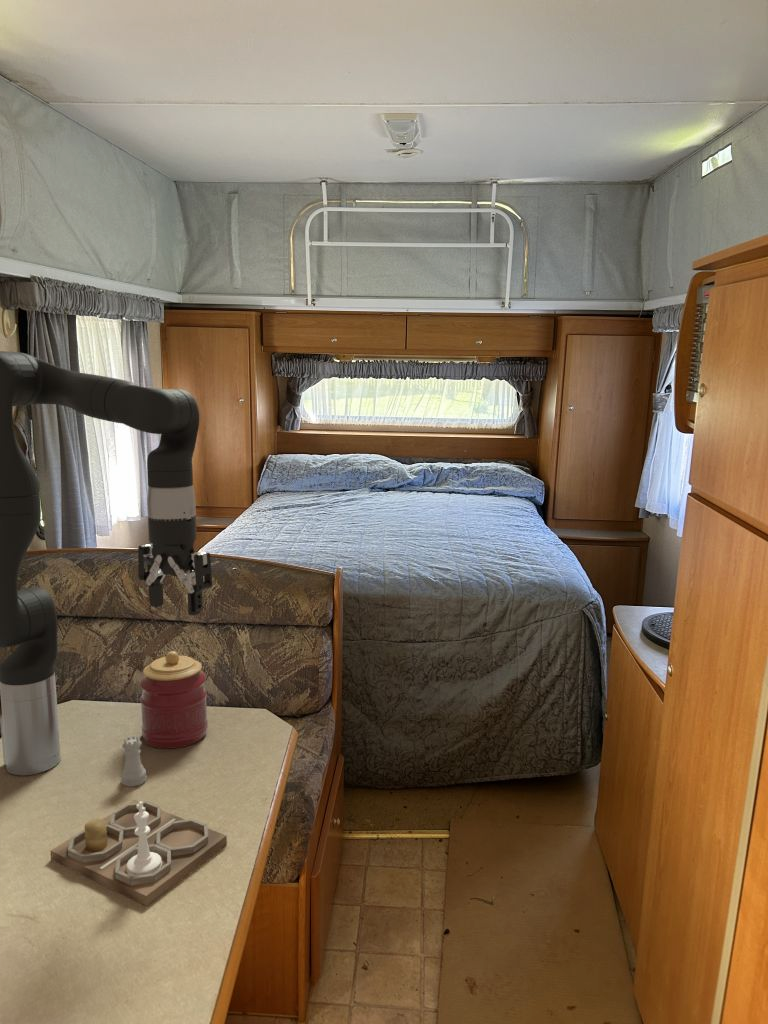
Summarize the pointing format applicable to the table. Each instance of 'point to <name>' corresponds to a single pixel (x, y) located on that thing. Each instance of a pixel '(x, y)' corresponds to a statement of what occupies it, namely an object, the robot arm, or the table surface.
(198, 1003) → the table surface
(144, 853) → the chess piece
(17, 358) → the robot arm
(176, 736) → the canister
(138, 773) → the rook chess piece
